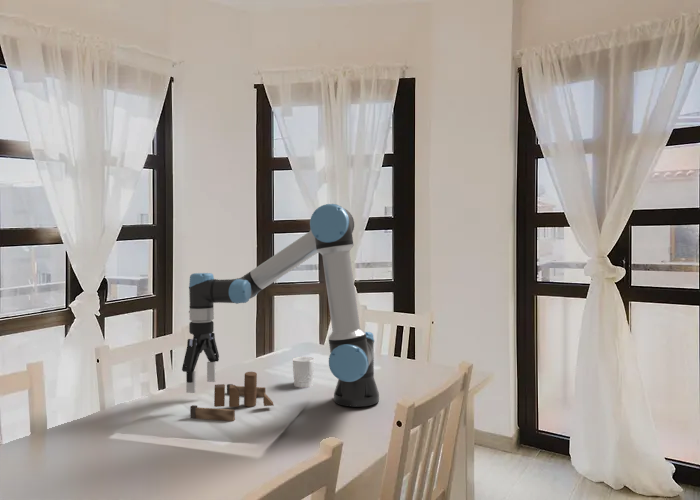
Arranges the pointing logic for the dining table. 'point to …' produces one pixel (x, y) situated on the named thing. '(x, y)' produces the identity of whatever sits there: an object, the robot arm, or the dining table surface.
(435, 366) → the dining table surface
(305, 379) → the white cup
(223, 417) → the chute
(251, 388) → the wooden block set
